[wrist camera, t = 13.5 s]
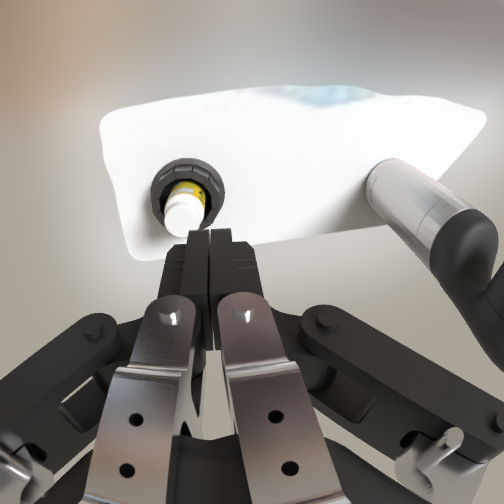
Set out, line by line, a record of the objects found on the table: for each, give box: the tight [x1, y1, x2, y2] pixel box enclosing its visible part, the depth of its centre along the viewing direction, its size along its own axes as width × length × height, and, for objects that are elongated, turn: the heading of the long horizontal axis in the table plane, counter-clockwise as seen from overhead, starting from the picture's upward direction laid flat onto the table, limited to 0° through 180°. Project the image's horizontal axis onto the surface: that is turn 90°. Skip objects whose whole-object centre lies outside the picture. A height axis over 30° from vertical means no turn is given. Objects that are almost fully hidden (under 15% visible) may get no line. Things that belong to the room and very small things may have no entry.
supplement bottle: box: [164, 178, 206, 238], centre depth 36 cm, size 5×5×8 cm
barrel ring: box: [151, 158, 225, 230], centre depth 38 cm, size 10×10×3 cm
